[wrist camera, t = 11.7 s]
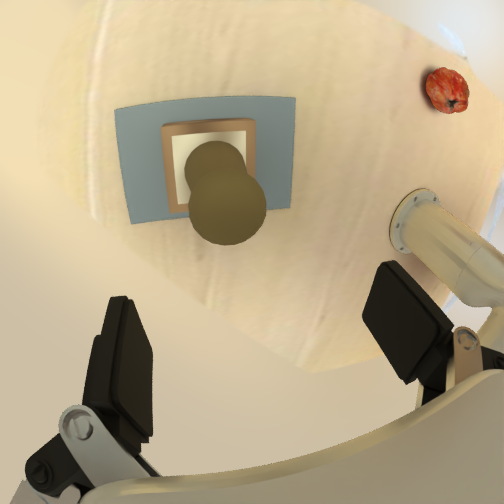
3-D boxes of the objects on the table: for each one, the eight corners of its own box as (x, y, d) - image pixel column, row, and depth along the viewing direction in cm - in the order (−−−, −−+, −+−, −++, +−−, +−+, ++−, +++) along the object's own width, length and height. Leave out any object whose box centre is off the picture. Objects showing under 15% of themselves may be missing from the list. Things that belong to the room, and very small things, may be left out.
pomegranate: (419, 59, 28) (420, 82, 24) (459, 57, 22) (469, 80, 19) (431, 97, 32) (432, 126, 29) (468, 96, 27) (476, 127, 24)
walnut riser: (247, 117, 27) (256, 120, 24) (247, 192, 32) (255, 205, 28) (164, 123, 25) (160, 127, 22) (171, 199, 30) (169, 214, 27)
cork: (202, 209, 27) (212, 274, 18) (172, 160, 24) (162, 203, 15) (255, 181, 27) (292, 232, 18) (228, 129, 23) (255, 152, 14)
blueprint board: (292, 97, 27) (295, 97, 27) (287, 205, 35) (289, 208, 34) (116, 109, 24) (114, 109, 23) (132, 220, 31) (131, 224, 31)
